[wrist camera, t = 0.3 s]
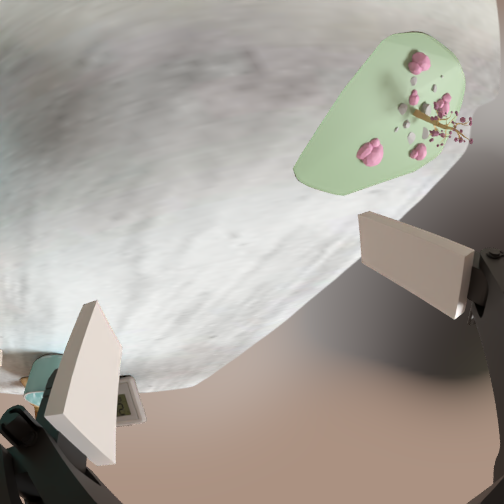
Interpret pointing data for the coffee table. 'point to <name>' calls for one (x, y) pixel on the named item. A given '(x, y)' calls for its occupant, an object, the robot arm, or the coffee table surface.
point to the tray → (1, 357)
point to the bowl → (40, 377)
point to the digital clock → (129, 403)
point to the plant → (387, 117)
